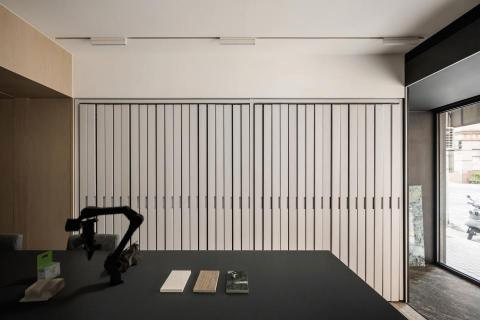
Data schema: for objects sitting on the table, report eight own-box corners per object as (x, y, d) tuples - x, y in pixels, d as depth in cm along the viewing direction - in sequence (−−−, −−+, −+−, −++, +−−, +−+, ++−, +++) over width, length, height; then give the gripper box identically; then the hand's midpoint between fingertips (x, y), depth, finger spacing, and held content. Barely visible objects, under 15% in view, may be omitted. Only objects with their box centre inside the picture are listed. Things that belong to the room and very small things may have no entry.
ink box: (45, 282, 158) (44, 256, 158) (36, 281, 159) (36, 256, 159) (60, 274, 168) (59, 250, 168) (52, 273, 169) (51, 249, 169)
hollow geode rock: (119, 282, 167) (137, 264, 166) (103, 267, 167) (120, 248, 166) (138, 262, 195) (153, 246, 194) (124, 249, 195) (139, 233, 194)
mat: (62, 285, 153) (62, 284, 153) (47, 300, 138) (46, 298, 138) (37, 287, 152) (37, 286, 152) (19, 302, 137) (19, 300, 137)
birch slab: (64, 278, 152) (39, 279, 150) (52, 288, 140) (25, 290, 139) (64, 285, 152) (39, 287, 151) (52, 297, 140) (25, 298, 139)
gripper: (64, 230, 153) (65, 260, 154) (78, 237, 141) (79, 269, 141) (87, 226, 162) (87, 254, 162) (102, 232, 149) (102, 263, 150)
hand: (89, 260), depth 154 cm, fingers closed
